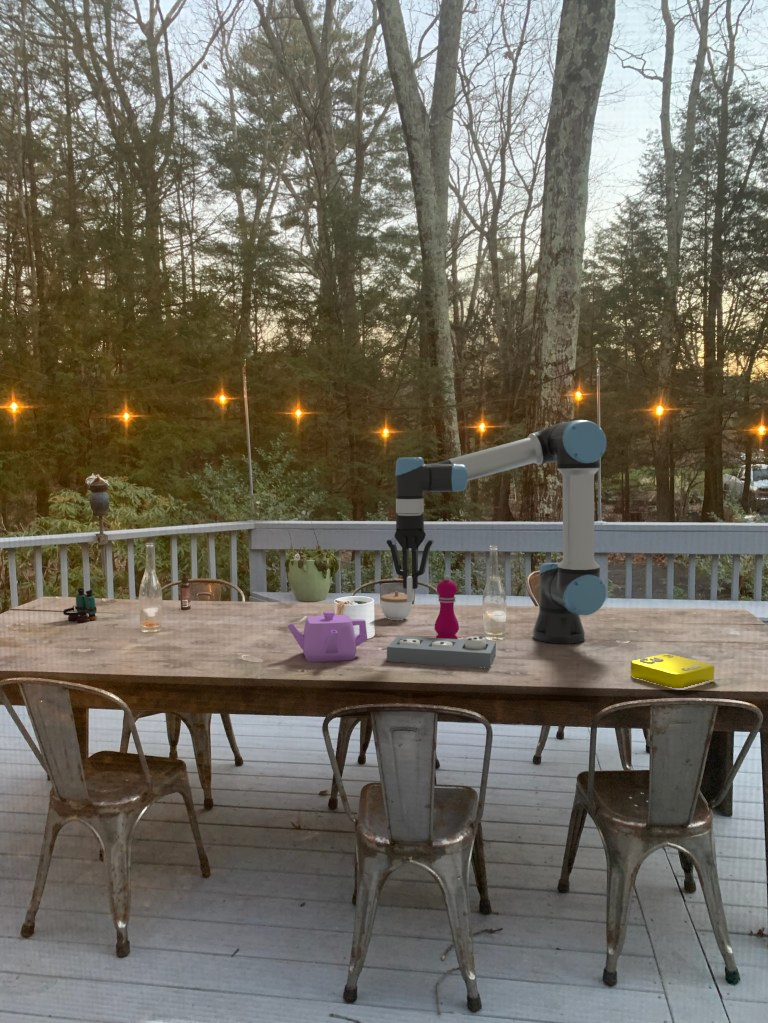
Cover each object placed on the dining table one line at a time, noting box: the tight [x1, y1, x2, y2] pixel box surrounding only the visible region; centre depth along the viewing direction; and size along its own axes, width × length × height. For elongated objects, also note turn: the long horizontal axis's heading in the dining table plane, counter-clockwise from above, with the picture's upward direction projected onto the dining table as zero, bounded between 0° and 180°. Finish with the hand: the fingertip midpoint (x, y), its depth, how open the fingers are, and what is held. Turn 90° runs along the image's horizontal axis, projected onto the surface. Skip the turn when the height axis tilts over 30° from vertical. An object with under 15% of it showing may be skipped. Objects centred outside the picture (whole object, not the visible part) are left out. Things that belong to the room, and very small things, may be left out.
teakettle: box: [286, 610, 368, 663], centre depth 210 cm, size 17×17×12 cm
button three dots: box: [464, 635, 487, 650], centre depth 204 cm, size 6×6×4 cm
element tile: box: [629, 653, 715, 688], centre depth 188 cm, size 15×15×5 cm
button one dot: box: [432, 641, 453, 648], centre depth 207 cm, size 6×6×4 cm
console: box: [386, 635, 497, 669], centre depth 207 cm, size 28×13×4 cm, turn 76°
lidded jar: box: [380, 590, 413, 621], centre depth 258 cm, size 11×11×9 cm
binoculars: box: [63, 587, 98, 624], centre depth 255 cm, size 9×11×10 cm
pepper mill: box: [434, 574, 460, 639], centre depth 225 cm, size 7×7×20 cm
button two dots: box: [400, 639, 420, 646], centre depth 209 cm, size 6×6×4 cm
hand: (410, 600), depth 208 cm, fingers closed
